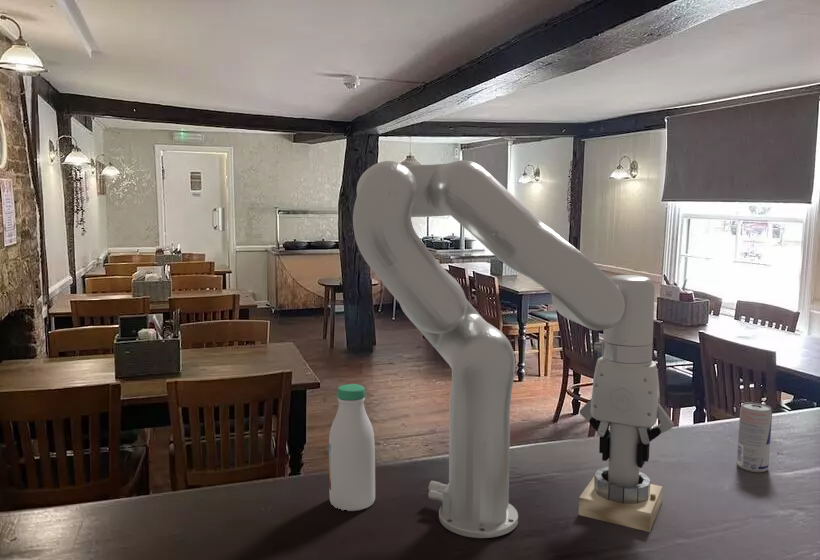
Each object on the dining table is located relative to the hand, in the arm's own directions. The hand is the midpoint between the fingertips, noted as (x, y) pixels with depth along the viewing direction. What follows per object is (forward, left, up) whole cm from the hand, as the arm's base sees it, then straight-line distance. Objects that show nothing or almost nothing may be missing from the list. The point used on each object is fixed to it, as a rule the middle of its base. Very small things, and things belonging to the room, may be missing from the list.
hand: (623, 460), depth 106 cm
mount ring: (0, 0, -5) cm, 5 cm away
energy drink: (+18, +30, -9) cm, 36 cm away
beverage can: (0, 0, -5) cm, 5 cm away
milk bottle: (-40, -20, -9) cm, 46 cm away
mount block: (0, 0, -8) cm, 8 cm away
